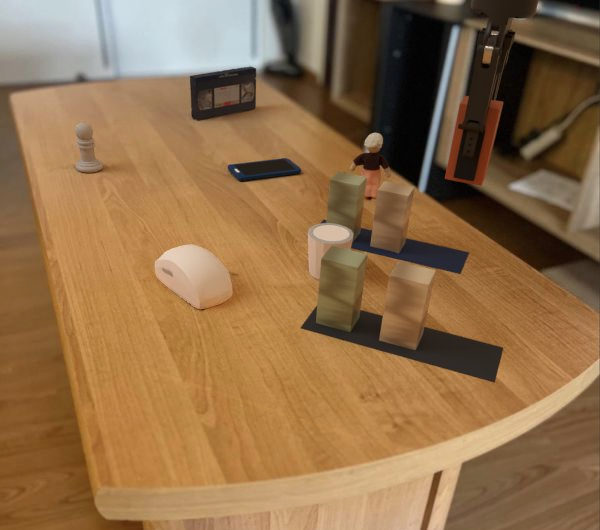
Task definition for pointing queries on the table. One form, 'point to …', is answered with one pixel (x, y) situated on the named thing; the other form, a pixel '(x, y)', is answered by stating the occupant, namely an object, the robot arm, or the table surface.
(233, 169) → the cell phone
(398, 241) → the far blocks
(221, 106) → the vhs cassette tape
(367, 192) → the grandmother figurine
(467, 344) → the mat
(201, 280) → the computer mouse
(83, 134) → the chess piece
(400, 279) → the near blocks
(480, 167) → the orange rectangular block
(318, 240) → the pale pink cylinder
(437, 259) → the word mat far
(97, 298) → the table surface
